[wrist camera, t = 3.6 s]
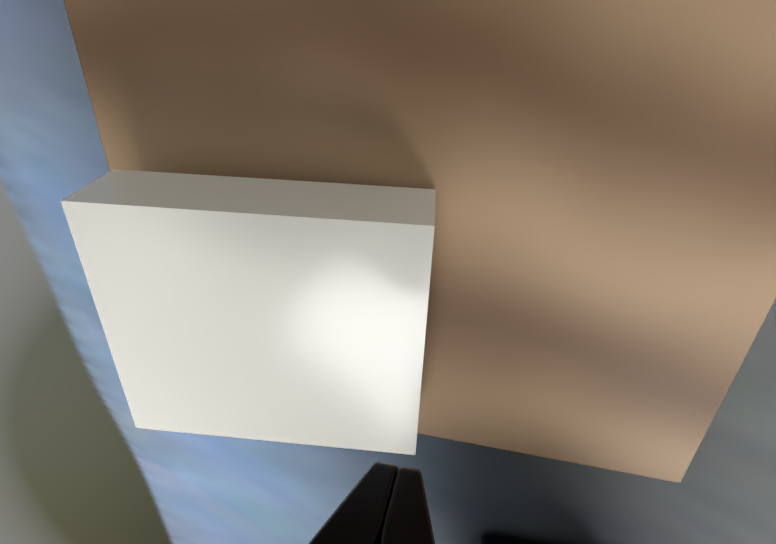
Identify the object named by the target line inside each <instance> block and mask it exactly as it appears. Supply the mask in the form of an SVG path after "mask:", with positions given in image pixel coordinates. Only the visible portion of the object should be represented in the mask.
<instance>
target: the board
mask: <svg viewBox="0 0 776 544" xmlns="http://www.w3.org/2000/svg"><path fill="white" fill-rule="evenodd" d="M64 3H65V7H66V11H67V14H68V18H69V22H70V25H71V29H72V33H73V36H74V40H75V44H76V48H77V51H78V55H79V59H80V62H81V66H82V70H83V74H84V77H85V81H86V85H87V88H88V92H89V96H90V100H91V103H92V107H93V111H94V114H95V118H96V122H97V125H98V129H99V133H100V137H101V140H102V144H103V148H104V151H105V155H106V159H107V163H108V166H109V170H110V171H111V170H113V169H118V170H134V171H150V172H166V173H182V174H198V175H214V176H230V177H246V178H262V179H279V180H295V181H311V182H327V183H343V184H359V185H375V186H391V187H407V188H423V189H436V203H435V228H434V240H433V252H432V263H431V275H430V287H429V299H428V311H427V323H426V334H425V346H424V358H423V370H422V382H421V393H420V405H419V417H418V429H417V433H419V434H424V435H429V436H435V437H440V438H445V439H450V440H456V441H461V442H466V443H472V444H477V445H482V446H487V447H493V448H498V449H503V450H509V451H514V452H519V453H524V454H530V455H535V456H540V457H546V458H551V459H556V460H561V461H567V462H572V463H577V464H583V465H588V466H593V467H598V468H604V469H609V470H614V471H620V472H625V473H630V474H635V475H641V476H646V477H651V478H657V479H662V480H667V481H672V482H678V483H680V482H681V480H682V478H683V476H684V474H685V472H686V471H687V469H688V467H689V465H690V463H691V461H692V459H693V457H694V455H695V453H696V451H697V449H698V447H699V445H700V443H701V442H702V440H703V438H704V436H705V434H706V432H707V430H708V428H709V426H710V424H711V422H712V420H713V418H714V416H715V414H716V412H717V411H718V409H719V407H720V405H721V403H722V401H723V399H724V397H725V395H726V393H727V391H728V389H729V387H730V385H731V383H732V382H733V380H734V378H735V376H736V374H737V372H738V370H739V368H740V366H741V364H742V362H743V360H744V358H745V356H746V354H747V352H748V351H749V349H750V347H751V345H752V343H753V341H754V339H755V337H756V335H757V333H758V331H759V329H760V327H761V325H762V323H763V322H764V320H765V318H766V316H767V314H768V312H769V310H770V308H771V306H772V304H773V302H774V300H775V298H776V0H64Z"/></svg>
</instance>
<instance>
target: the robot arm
mask: <svg viewBox="0 0 776 544" xmlns="http://www.w3.org/2000/svg"><path fill="white" fill-rule="evenodd" d="M309 544H435V541H434V536H433V530H432V525H431V520H430V515H429V510H428V505H427V499H426V494H425V489H424V484H423V479H422V474H421V472H420V470H418V469H414V468H409V467H405V466H401V467H399V468H397V466H396V465H394V464H390V463H385V462H381V461H377V462H375V463H374V464H373V465H372V466H371V467H370V468H369V470H368V471H367V472H366V473H365V475H364V476H363V477H362V478H361V480H360V481H359V482H358V483H357V484H356V486H355V487H354V488H353V489H352V491H351V492H350V493H349V494H348V496H347V497H346V498H345V499H344V500H343V502H342V503H341V504H340V505H339V507H338V508H337V509H336V510H335V512H334V513H333V514H332V515H331V517H330V518H329V519H328V520H327V521H326V523H325V524H324V525H323V526H322V528H321V529H320V530H319V531H318V533H317V534H316V535H315V536H314V538H313V539H312V540H311V541H310V542H309ZM479 544H534V543H529V542H525V541H520V540H515V539H511V538H506V537H502V536H497V535H490V534H488V535H484V536H482V537H481V538H480V541H479Z"/></svg>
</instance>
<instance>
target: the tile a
mask: <svg viewBox="0 0 776 544" xmlns="http://www.w3.org/2000/svg"><path fill="white" fill-rule="evenodd" d="M435 203H436V189H423V188H407V187H391V186H375V185H359V184H343V183H327V182H311V181H295V180H279V179H262V178H246V177H230V176H214V175H198V174H182V173H166V172H150V171H134V170H118V169H113V170H111V171H109V172H108V173H106V174H104V175H103V176H101V177H99V178H98V179H96V180H94V181H93V182H91V183H89V184H88V185H86V186H84V187H83V188H81V189H79V190H78V191H76V192H74V193H73V194H71V195H69V196H68V197H66V198H64V199H63V200H61V204H62V207H63V210H64V213H65V216H66V219H67V222H68V225H69V228H70V231H71V234H72V237H73V240H74V243H75V246H76V249H77V252H78V255H79V258H80V261H81V264H82V267H83V270H84V273H85V276H86V279H87V282H88V285H89V288H90V291H91V294H92V297H93V300H94V303H95V306H96V309H97V312H98V315H99V318H100V321H101V324H102V327H103V330H104V333H105V336H106V339H107V342H108V345H109V348H110V351H111V354H112V357H113V360H114V363H115V366H116V369H117V372H118V375H119V378H120V381H121V384H122V387H123V390H124V393H125V396H126V399H127V402H128V405H129V408H130V411H131V414H132V417H133V420H134V423H135V426H136V428H143V429H153V430H164V431H174V432H184V433H194V434H204V435H215V436H225V437H235V438H245V439H255V440H266V441H276V442H286V443H296V444H307V445H317V446H327V447H337V448H347V449H358V450H368V451H378V452H388V453H399V454H409V455H415V453H416V441H417V429H418V417H419V405H420V393H421V382H422V370H423V358H424V346H425V334H426V323H427V311H428V299H429V287H430V275H431V263H432V252H433V240H434V228H435Z"/></svg>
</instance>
